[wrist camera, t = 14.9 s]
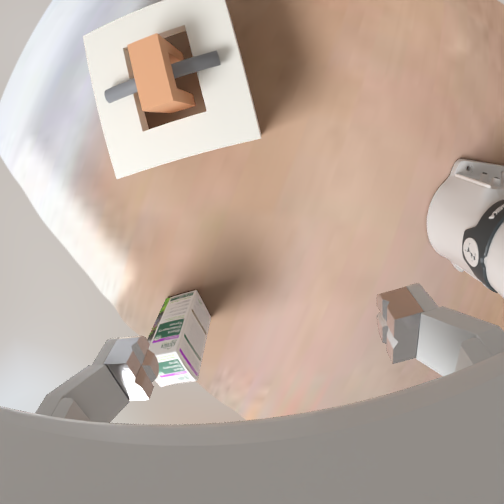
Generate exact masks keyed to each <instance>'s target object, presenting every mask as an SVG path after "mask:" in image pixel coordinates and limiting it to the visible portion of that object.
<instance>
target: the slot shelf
mask: <svg viewBox="0 0 504 504" xmlns="http://www.w3.org/2000/svg"><path fill="white" fill-rule="evenodd" d="M184 31H186V32H187V36H188V40H189V43H190V47H191V51H192V55H193V57H192V58H188V59H185V60H182V61H179V62H176V63H173V64H171V66H172V70H173V74H174V79H175V78H178V77H181V76H184V75H188V74H191V73H194V72H197V75H198V79H199V83H200V87H201V91H202V95H203V98H204V102H205V106H206V110H207V111H206V112H203V113H199V114H196V115H192V116H189V117H186V118H182V119H179V120H176V121H173V122H170V123H167V124H164V125H161V126H158V127H155V128H152V129H149V128H148V124H147V120H146V117H145V113H144V111H142V107H141V103H140V99H139V95H138V91H137V87H136V83H135V78H134V74H133V70H132V65H131V61H130V56H129V51H128V47H127V45H128V44H131V43H133V42H135V41H138V40H140V39H143V38H145V37H148V36H151V35H153V34H156V33H158V34H159V35H160V36H161V37H163V38H166V37H169V36H172V35H175V34H178V33H181V32H184ZM83 40H84V46H85V51H86V57H87V62H88V67H89V72H90V77H91V82H92V87H93V91H94V96H95V100H96V105H97V109H98V113H99V117H100V121H101V125H102V129H103V133H104V136H105V140H106V144H107V147H108V151H109V155H110V158H111V162H112V165H113V168H114V172H115V175H116V178H117V179H119V178H122V177H125V176H128V175H131V174H134V173H137V172H140V171H143V170H146V169H149V168H152V167H156V166H159V165H162V164H165V163H169V162H172V161H175V160H179V159H182V158H186V157H189V156H193V155H196V154H200V153H204V152H208V151H211V150H215V149H219V148H223V147H227V146H231V145H235V144H239V143H244V142H248V141H252V140H257V139H261V131H260V127H259V123H258V119H257V115H256V111H255V107H254V103H253V99H252V95H251V91H250V87H249V83H248V79H247V75H246V72H245V68H244V64H243V60H242V56H241V53H240V49H239V45H238V42H237V38H236V34H235V31H234V27H233V23H232V20H231V16H230V13H229V10H228V7H227V4H226V1H225V0H163V1H160V2H157V3H155V4H152V5H149V6H147V7H144V8H142V9H139V10H137V11H135V12H132V13H130V14H127V15H125V16H123V17H121V18H118V19H116V20H114V21H112V22H110V23H108V24H106V25H104V26H102V27H100V28H98V29H96V30H94V31H92V32H90V33H88V34H86V35H84V36H83Z"/></svg>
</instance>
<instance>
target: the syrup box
mask: <svg viewBox="0 0 504 504" xmlns="http://www.w3.org/2000/svg"><path fill="white" fill-rule="evenodd" d="M210 320H211V316H210V314H209V312H208V310H207V308H206V306H205V304H204V303H203V301H202V299H201V297H200V295H199V293H198V291H197V290H194V291H191V292H187V293H183V294H180V295H177V296H173V297H170V298H167V299H166V300H165V302H164V304H163V306H162V309H161V311H160V313H159V315H158V317H157V319H156V322H155V324H154V326H153V328H152V330H151V333H150V335H149V337H148V339H147V341H148V342H149V344H150V346H149V350H150V351H151V352H153V353H154V354H155V356H156V358H157V360H158V363H159V373H158V377H157V378H156V379H155V381H156V382H157V383H158V384H159V386H160V387H163V386H166V385H173V384H181V383H187V382H192V381H197V380H198V376H199V372H200V367H201V362H202V357H203V353H204V348H205V343H206V339H207V334H208V329H209V325H210Z"/></svg>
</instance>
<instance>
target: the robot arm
mask: <svg viewBox="0 0 504 504" xmlns="http://www.w3.org/2000/svg"><path fill="white" fill-rule="evenodd" d="M467 166H468V169H467ZM427 233H428V237H429V240H430V243H431V245H432V246H433V248H434V249H435V251H436V252H437V253H438V254H440V255H441V256H443V257H445V258H447V259H449V260H450V261H451V263H452V264H453V266H454V267H455V269H457V270H458V271H460V272H463V271H466V272H467V273H468V274H470V275H471V276H473V277H474V278H476V279H477V280H479V281H480V282H482V283H483V285H484V286H486V287H487V288H489V289H490V290H492V291H493V292H496V293H499V294H500V295H501V296H502V297H503V298H504V166H503V165H498V164H492V163H486V162H480V161H473V160H466V159H458V160H457V161H456V162H455V164H454V166H453V168H452V171H451V173H450V176H449V177H448V178H447V179H446V181H445V182H444V183H443V184H442V185H441V186H440V187H439V188H438V190H437V191H436V193H435V195H434V196H433V199H432V201H431V203H430V206H429V210H428V215H427ZM377 307H378V309H379V310H380V312H379V314H378V315H377V325H378V331H379V335H380V338H381V340H382V342H383V343H385V344H387V348H386V351H387V353H388V355H389V357H390V360H391V362H392V364H394V363H398V362H402V361H406V360H410V359H413V358H416V359H417V360H419V361H420V362H422V363H423V364H425V365H427V366H428V367H430V368H431V369H433V370H434V371H436V372H437V373H439V374H440V375H442V376H443V377H440V378H437V379H434V380H431V381H428V382H425V383H422V384H419V385H416V386H413V387H410V388H407V389H404V390H400V391H397V392H394V393H390V394H387V395H383V396H379V397H376V398H372V399H368V400H364V401H360V402H355V403H351V404H347V405H342V406H337V407H332V408H327V409H322V410H317V411H312V412H306V413H300V414H293V415H287V416H280V417H273V418H265V419H256V420H247V421H237V422H224V423H209V424H184V425H145V424H119V423H110V422H111V421H112V420H113V419H114V418H115V417H116V415H117V414H118V413H119V412H120V411H121V410H122V409H123V408H124V407H125V406H126V405H127V404H128V403H129V400H149V399H150V396H151V393H152V390H153V387H154V386H153V384H152V382H153V381H154V380H155V379H156V378H157V377H158V373H159V363H158V360H157V358H156V356H155V354H154V353H153V352H151V351H150V350H149V346H150V344H149V342H148V341H147V339H146V337H144V336H133V337H122V338H111V339H108V340H107V341H106V342H105V344H104V346H103V347H102V349H101V351H100V352H99V354H98V356H97V357H96V359H95V360H94V362H93V364H92V365H88V366H87V367H86V368H84V369H83V370H81V371H80V372H78V373H77V374H76V375H74V376H73V377H71V378H70V379H69V380H67V381H66V382H65V383H63V384H61V385H60V386H59V387H57V388H56V389H54V390H53V391H52V392H50V393H49V394H47V395H46V397H45V398H44V400H43V402H42V403H41V405H40V406H39V408H38V410H37V411H36V413H29V412H24V411H19V410H15V409H10V408H5V407H1V406H0V504H504V331H503V330H502V329H501V328H500V327H499V326H497V325H494V324H491V323H489V322H486V321H483V320H480V319H477V318H475V317H472V316H469V315H466V314H463V313H460V312H457V311H455V310H452V309H449V308H446V307H443V306H442V307H438V305H437V304H436V303H435V302H434V300H433V299H432V298H431V297H430V296H429V294H428V293H427V292H426V291H425V290H424V288H423V287H422V286H421V285H420V284H419V283H416V284H412V285H409V286H406V287H403V288H399V289H396V290H392V291H388V292H384V293H381V294H377Z"/></svg>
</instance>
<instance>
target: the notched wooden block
mask: <svg viewBox="0 0 504 504" xmlns="http://www.w3.org/2000/svg"><path fill="white" fill-rule="evenodd" d="M127 47H128V51H129V56H130V61H131V65H132V70H133V74H134V78H135V83H136V87H137V91H138V95H139V99H140V103H141V107H142V111H146V112H162V113H174V112H177V111H180V110H184V109H187V108H190V107H193V106H196V105H195V101H194V97H193V94H191V93H188V92H186V91H183V90H181V89H178V88H177V87H176V83H175V79H174V74H173V70H172V66H171V64H173V63H176V62H179V61H182V60H184V58H183V54H182V52H180V51H179V50H178V49H177V48H175V47H174V46H173V45H172V44H170V43H169V42H168V41H167V40H165V39H164V38H163V37H161V36H160V35H159V34H158V33H156V34H153V35H151V36H148V37H145V38H143V39H140V40H138V41H135V42H133V43H131V44H128V45H127Z"/></svg>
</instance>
